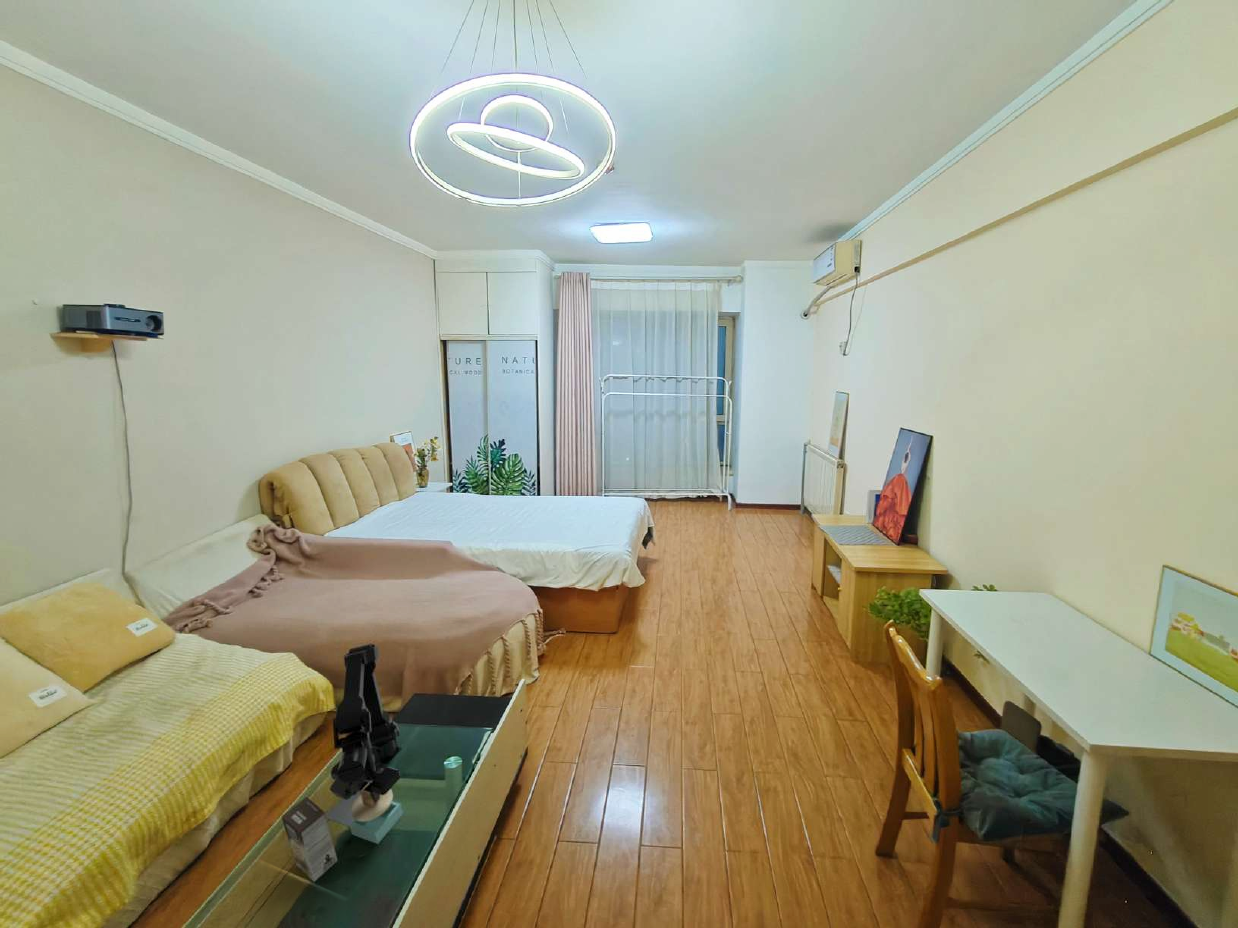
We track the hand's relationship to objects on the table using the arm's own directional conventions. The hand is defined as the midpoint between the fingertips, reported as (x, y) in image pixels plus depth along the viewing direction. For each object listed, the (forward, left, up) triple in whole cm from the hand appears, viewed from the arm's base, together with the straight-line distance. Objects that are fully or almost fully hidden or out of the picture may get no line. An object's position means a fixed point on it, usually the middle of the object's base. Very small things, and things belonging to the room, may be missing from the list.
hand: (371, 799), depth 137 cm
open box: (0, 0, -9) cm, 9 cm away
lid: (0, 0, -2) cm, 2 cm away
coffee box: (+13, -7, -9) cm, 17 cm away
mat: (-3, -12, -9) cm, 15 cm away
